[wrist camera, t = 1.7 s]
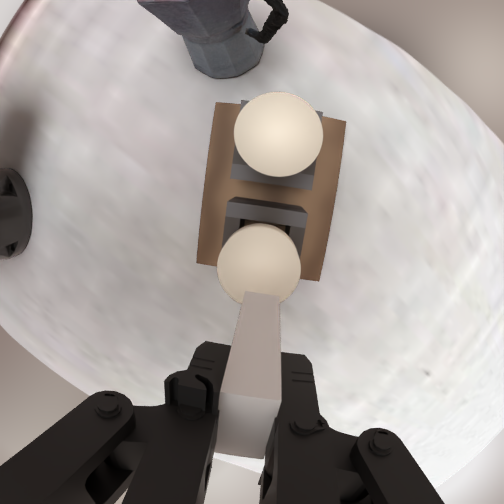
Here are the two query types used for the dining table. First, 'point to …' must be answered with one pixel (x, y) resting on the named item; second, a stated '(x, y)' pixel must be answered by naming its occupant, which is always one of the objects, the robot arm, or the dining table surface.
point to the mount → (268, 194)
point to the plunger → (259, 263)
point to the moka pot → (219, 31)
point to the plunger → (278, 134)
